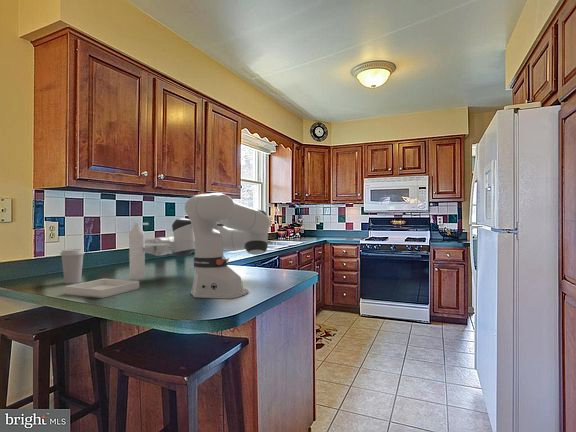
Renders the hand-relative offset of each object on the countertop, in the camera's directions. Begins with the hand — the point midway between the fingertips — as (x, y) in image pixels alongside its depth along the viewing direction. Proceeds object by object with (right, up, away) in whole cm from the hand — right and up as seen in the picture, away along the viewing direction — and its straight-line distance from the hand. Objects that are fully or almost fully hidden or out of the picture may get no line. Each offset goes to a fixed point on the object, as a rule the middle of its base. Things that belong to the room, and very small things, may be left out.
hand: (137, 249), depth 158 cm
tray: (-7, -15, -17) cm, 24 cm away
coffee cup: (-31, -16, +3) cm, 35 cm away
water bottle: (+1, -13, +1) cm, 13 cm away
